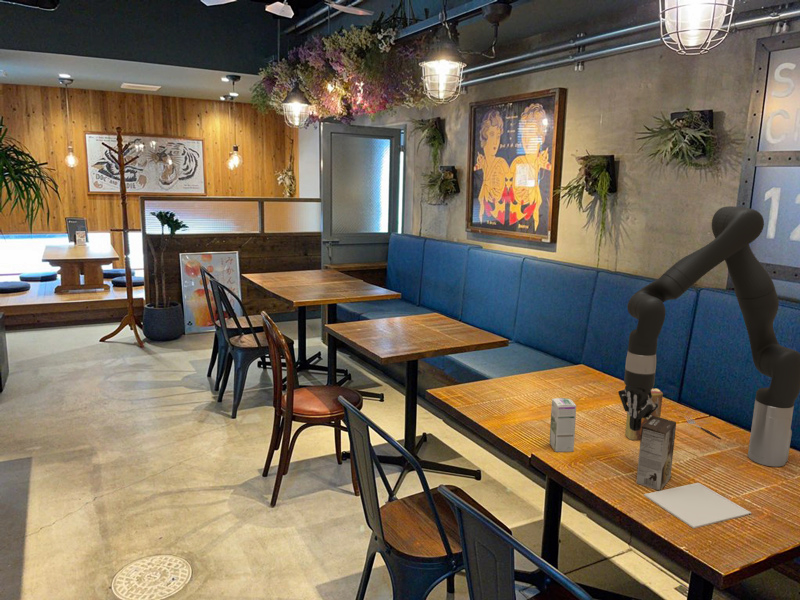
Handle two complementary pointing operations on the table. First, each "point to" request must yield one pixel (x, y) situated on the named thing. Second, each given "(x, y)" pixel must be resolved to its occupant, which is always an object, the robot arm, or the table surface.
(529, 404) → the table surface
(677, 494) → the mat
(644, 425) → the coffee box
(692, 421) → the fork
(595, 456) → the table surface
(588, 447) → the table surface
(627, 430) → the candy box
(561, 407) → the syrup box
